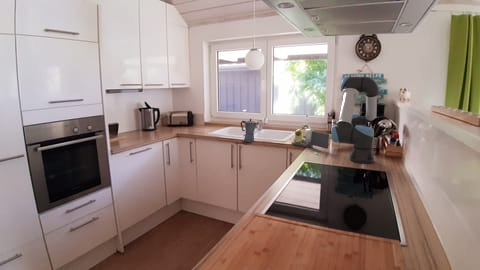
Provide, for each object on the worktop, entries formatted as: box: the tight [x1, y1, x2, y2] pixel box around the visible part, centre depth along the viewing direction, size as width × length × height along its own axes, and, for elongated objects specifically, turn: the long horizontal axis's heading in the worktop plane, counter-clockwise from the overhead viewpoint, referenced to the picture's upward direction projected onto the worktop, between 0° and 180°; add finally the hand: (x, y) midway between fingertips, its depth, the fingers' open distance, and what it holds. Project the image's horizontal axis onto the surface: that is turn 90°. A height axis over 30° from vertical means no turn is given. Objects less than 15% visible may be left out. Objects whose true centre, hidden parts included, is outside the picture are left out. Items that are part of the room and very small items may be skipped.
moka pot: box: [240, 118, 258, 143], centre depth 241 cm, size 10×15×20 cm, turn 78°
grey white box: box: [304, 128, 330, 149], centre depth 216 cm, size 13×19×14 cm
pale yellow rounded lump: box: [291, 128, 306, 147], centre depth 233 cm, size 10×10×13 cm
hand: (328, 136), depth 216 cm, fingers closed
